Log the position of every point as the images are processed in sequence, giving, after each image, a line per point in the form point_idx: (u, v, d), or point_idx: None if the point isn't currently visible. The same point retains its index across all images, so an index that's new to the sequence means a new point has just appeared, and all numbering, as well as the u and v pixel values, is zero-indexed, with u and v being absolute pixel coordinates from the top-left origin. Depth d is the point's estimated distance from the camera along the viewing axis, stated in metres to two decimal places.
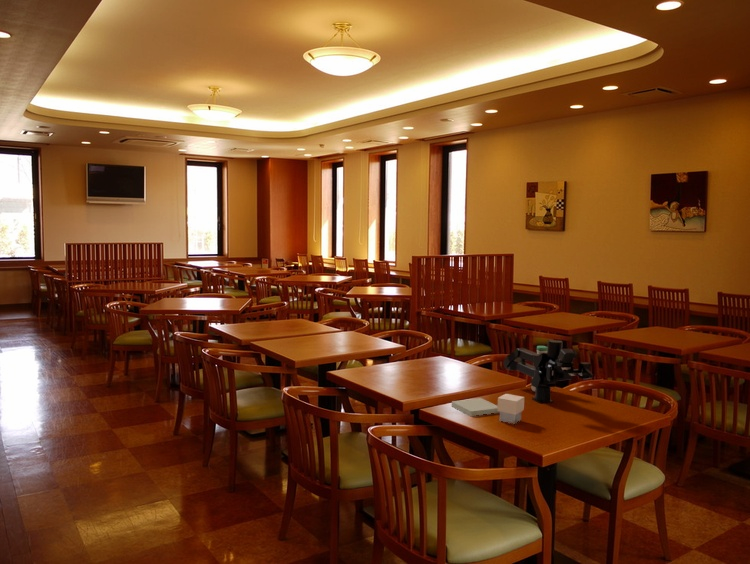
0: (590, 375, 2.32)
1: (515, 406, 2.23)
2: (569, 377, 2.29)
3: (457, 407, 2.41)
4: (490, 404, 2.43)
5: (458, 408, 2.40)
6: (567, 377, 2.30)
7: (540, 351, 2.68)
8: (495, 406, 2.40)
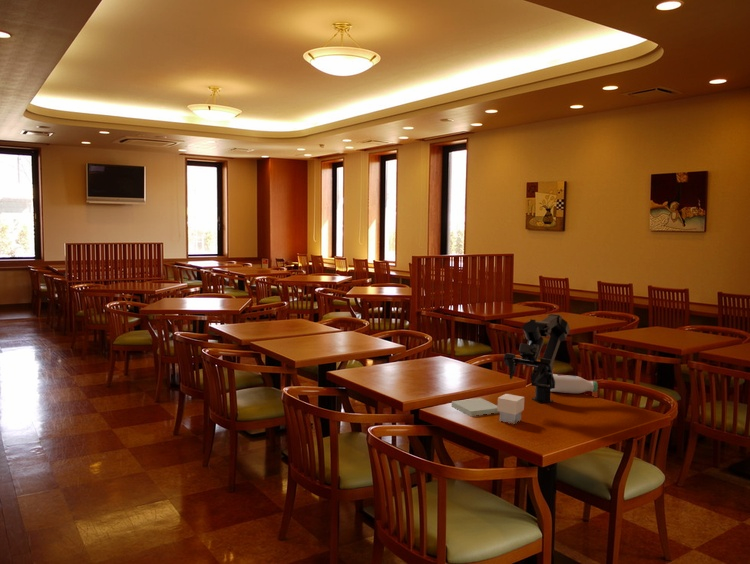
0: None
1: (515, 406, 2.23)
2: None
3: (457, 407, 2.41)
4: (490, 404, 2.43)
5: (458, 408, 2.40)
6: None
7: (593, 385, 2.65)
8: (495, 406, 2.40)
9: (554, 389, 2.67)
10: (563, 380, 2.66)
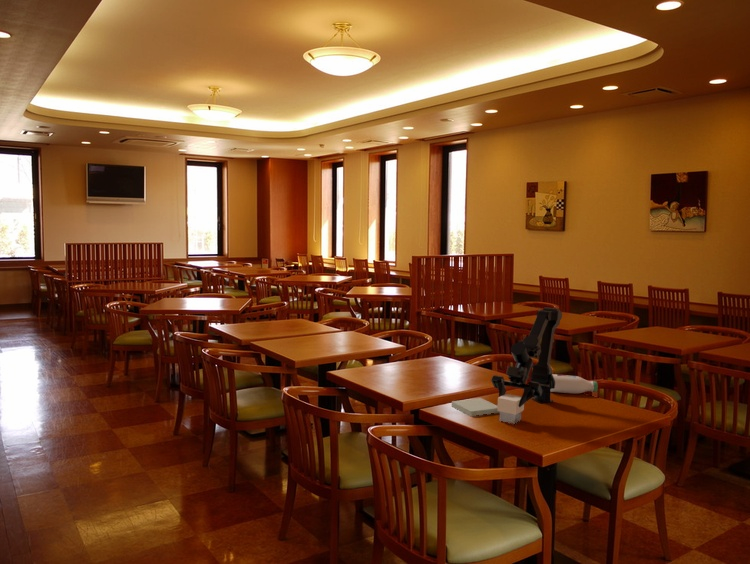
0: None
1: (515, 406, 2.23)
2: None
3: (457, 407, 2.41)
4: (490, 404, 2.43)
5: (458, 408, 2.40)
6: None
7: (593, 386, 2.65)
8: (495, 406, 2.40)
9: (554, 389, 2.67)
10: (563, 381, 2.66)
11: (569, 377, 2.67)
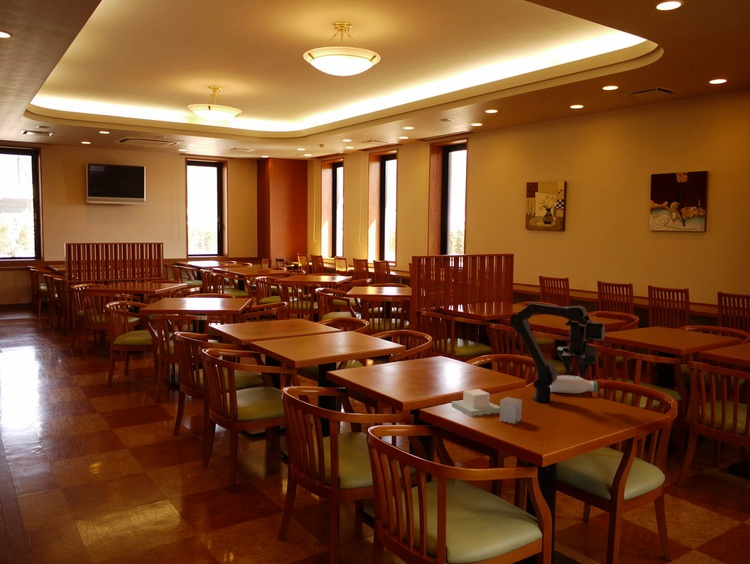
0: (568, 370, 2.52)
1: (473, 400, 2.37)
2: (582, 376, 2.43)
3: (457, 407, 2.41)
4: (490, 404, 2.43)
5: (458, 408, 2.40)
6: (582, 374, 2.42)
7: (593, 386, 2.65)
8: (495, 406, 2.40)
9: (554, 389, 2.67)
10: (563, 381, 2.66)
11: (569, 377, 2.67)
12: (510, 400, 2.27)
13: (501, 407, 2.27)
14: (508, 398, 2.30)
